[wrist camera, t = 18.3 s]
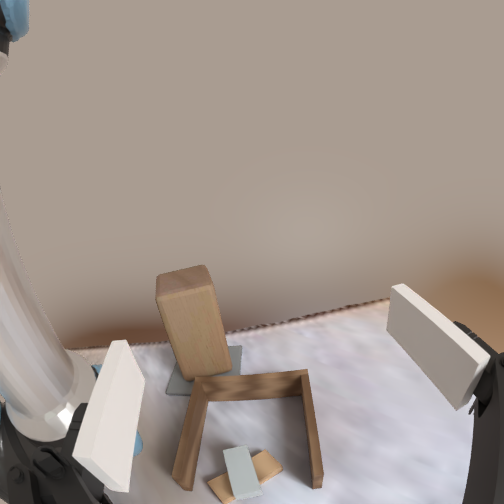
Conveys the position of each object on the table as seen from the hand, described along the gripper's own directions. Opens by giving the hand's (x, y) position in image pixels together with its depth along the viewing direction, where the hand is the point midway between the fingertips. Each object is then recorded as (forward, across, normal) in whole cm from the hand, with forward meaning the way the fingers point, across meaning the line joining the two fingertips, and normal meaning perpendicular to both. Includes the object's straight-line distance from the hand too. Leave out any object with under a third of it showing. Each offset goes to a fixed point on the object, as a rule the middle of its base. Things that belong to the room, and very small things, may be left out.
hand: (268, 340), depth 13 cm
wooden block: (+36, -10, -32) cm, 49 cm away
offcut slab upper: (+8, -5, -30) cm, 32 cm away
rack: (+14, -3, -32) cm, 35 cm away
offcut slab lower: (+8, -5, -33) cm, 34 cm away
